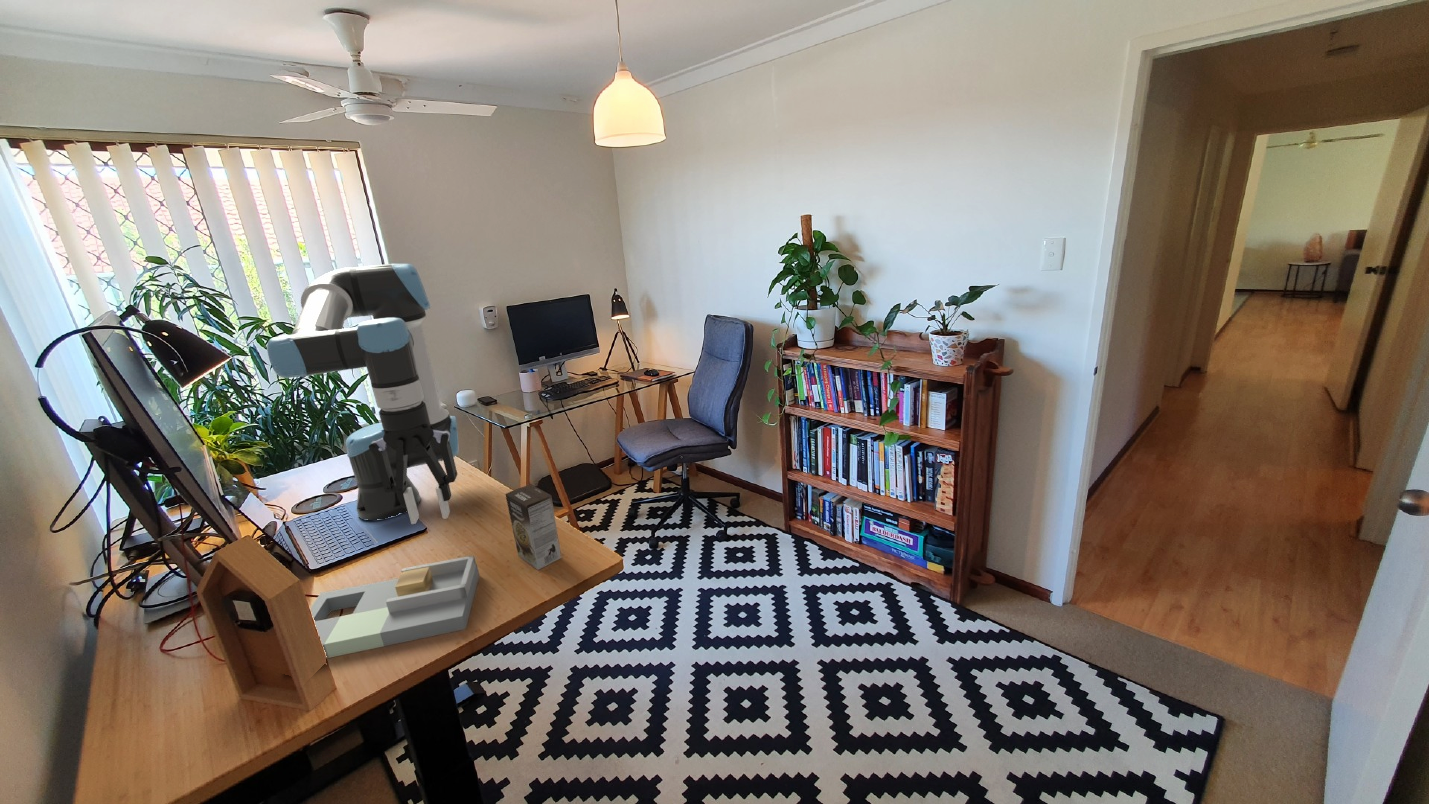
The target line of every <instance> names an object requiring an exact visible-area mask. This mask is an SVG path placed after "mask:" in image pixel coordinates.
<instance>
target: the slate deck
mask: <svg viewBox="0 0 1429 804" xmlns="http://www.w3.org/2000/svg"><path fill="white" fill-rule="evenodd" d="M426 567H429V568H430V572H431V576H432V579H433V583H432V585H431V588H430V590H429V591H426V592H421V593H415V594H410V595H405V596H400V597H398V595H397V592H396V588H395V586H396V584H397V582H398V580H399V578H400V577H399V578H394V579H393V578H392V579H388V580H381V581H378V582H371V583H366V584H361V585H357V586H349V587H345V588H340V589H336V590H330V591H322V592H320V593H319V595H318V596H317V598H315V601H314V602H313V604H312V605H311V607H310V608H311V612H312V616H313V618H314V620H315V625H316V628H317V630H318V634H319V636H320V638H321V643H322V645H323V647H324V650H325V652H326V656H327V658H326V659H328V658H333V657H339V656H344V655H348V654H353V653H358V652H363V651H368V650H373V649H377V648H382V647H387V646H392V645H397V644H401V643H406V642H410V641H416V640H420V639H425V638H430V637H435V636H438V635H439V636H440V635H445V634H448V633H454V632H459V631H464V630H466V628H467V625H468V621H469V618H470V613H471V610H472V606H473V603H474V602H473V601H474V598H475V594H476V590H477V587H478V583H479V579H480V573H479V568H478V567H479V566H478V564H477V562H476V557H475V554H474V555H469V556H464V557H458V558H452V559H446V560H441V561H437V562H430V563H423V564H418V565H414V566H410V567H409V566H408V567H403V568H402V569H401V571H400V572H401V573H402V572H404V571H410V570H415V569H421V568H426ZM353 607H355V608H354V610H353V612H352V613H351V614H346V615H341V616H335V617H332V618H328V616H329V615H330V613H331V612H332V611H338V610H342V609H347V608H353Z"/></svg>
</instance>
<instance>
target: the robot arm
mask: <svg viewBox="0 0 1429 804" xmlns="http://www.w3.org/2000/svg"><path fill="white" fill-rule="evenodd" d="M300 306H301V311H300V314H299V315H298V319H297V321H296V323H295V326H294V328H293V330H292V331H291V332H292V333H291V334H283V335H281V336H275V337H271V338H270V339H269V340H268V341H267V344H266V348H267V357H268V360H269V362H270V365H271V367H272V369H273V371H274V372H275V373H274V374H276V375H277V376H278V377H280V378H281V379H282V378H283V379H290V378H299V377H302V378H306V377H309V376H314V375H322V374H328V373H334V372H342V371H347V370H353V369H354V370H356V369H361V368H366V370H367V373H368V377H369V380H370V385H371V389H372V392H373V397H374V400H375V403H376V407H377V408H378V409H380V410H379V411H378V415H379V419H380V422H377V423H373V424H370V425H367V426H364V427H362V428H360V429H358V430H356V431H354V432H352V433H351V434H349V436H348V437H347V438H346V440H345V447H346V448H345V449H346V452H347V454H346V455H347V457H348V459H349V462H350V466H351V468H352V472H353V475H354V476H353V477H354V478H355V482H356V484H357V485H356V486H357V489H358V490H357V501H356V512H357V513H356V514H357V516H358V517H360V518H362V519H368V520H377V519H384V520H386V519H385V518H388V517H391V516H396V515H398V514H399V513H403V514H405V513H404V512H406V511H408V512H406V513H408V517H409V521H410V524H411V525H414V524H415V525H416V523H417V522H418V519H419V518H420V513H419V510H418V507H417V506H418V505H419V504H420V501H421V495H420V491H419V490H418V488H417V487H416V486H415V484H414V483H413V482H412V480H411V478H409V476H408V475H407V474H408V470H407V469H409V468H413V467H419V466H423V465H427V467H428V469H429V470H430V472H431V474H432V475H433V477H434V479H435V481H436V483H437V485H436V487H435V493H436V495H437V496H436V497H437V501H438V504H439V508H440V513H441V516H442V519H443V520H444V519H448V517H449V515H450V513H451V510H450V505H449V502H448V501H451V498H452V492H451V487H450V484H451V483H454V482H455V481H456V480H457V478H458V477H457V476H458V472H457V471H458V470H457V467H456V462H455V459H454V458H455V457H456V456H457V455H458V454H459V450H460V449H459V447H460V446H459V435H458V432H459V431H458V424H457V418H456V416H455V415H450V412H449V410H448V409H446V408H444V407H442V404H441V400H440V396H439V392H438V389H437V384H436V380H435V375H434V371H433V367H432V363H431V359H430V354H429V350H428V346H427V342H426V338H425V334H424V330H423V326H422V323H423V322H424V320H425V319H426V317H427V313H426V311H428V310H429V309H430V308H431V303H430V301H429V298H428V296H427V293H426V289H425V287H424V284H423V282H422V279H421V277H420V275H419V272H418V270H417V268H416V266H414V265H413V264H410V263H386V264H385V263H384V264H376V265H366V266H355V267H354V266H353V267H343V268H338V269H334V270H331V271H329V272H326V273H325V274H322V275H320V276H319V277H317V278H315V279H314V280H312V282H310V283H309V284H308V285H307V286H306V287H305V288H304V290H303V292H302V294H301V297H300ZM370 316H372V318H373V319H368V320H364V321H361V322H360V323H358V324H357V325H356V326H355V327H354V326H353V327H348V328H344V323H345V321H346V320H348V319H349V318H359V317H370ZM441 462H443V465H444V468H443V467H442V465H441ZM444 469H445V470H444ZM398 516H399V515H398ZM396 517H397V516H396ZM360 518H359V519H360ZM362 519H361V520H362Z"/></svg>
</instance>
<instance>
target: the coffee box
mask: <svg viewBox="0 0 1429 804" xmlns="http://www.w3.org/2000/svg"><path fill="white" fill-rule="evenodd" d="M504 496H505V498H506V503H507V509H508V512H509V517H510V523H511V527H512V532H513V537H514V542H515V546H516V547H515V548H516V551H517V556H518V557H520V558H521V559H522V560H523V561H525V562H526V563H528V564H529V565H530V566H531V567H533V568H535V569H536V570H537V571H538V570H541V569H543V568H545V567H546V566H548V565H550V564H552V563H555V562H556V561H559V560H560V559H561V558H562V554H561V546H560V540H559V534H558V528H557V521H556V516H555V510H554V504H553V499H552V495H551V494H549V492H546V491H545V490H543V489H540V488H539V487H537V486H535V485H533V484H531V483H530V484H527V485H525V486H522V487H519V488H516V489H513V490H512V491H509V492H506V493H504Z"/></svg>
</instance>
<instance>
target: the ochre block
mask: <svg viewBox="0 0 1429 804" xmlns="http://www.w3.org/2000/svg"><path fill="white" fill-rule="evenodd" d="M432 583H433V579H432V576H431V572H430V568H429V567H426V568H421V569H415V570H410V571H404V572H401V573H400V576H399V580H398V582H397V584H396V586H395V588H396V592H397V595H398V597H400V596H405V595H410V594H415V593H421V592H426V591H429V590H430V588H431V585H432Z"/></svg>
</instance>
